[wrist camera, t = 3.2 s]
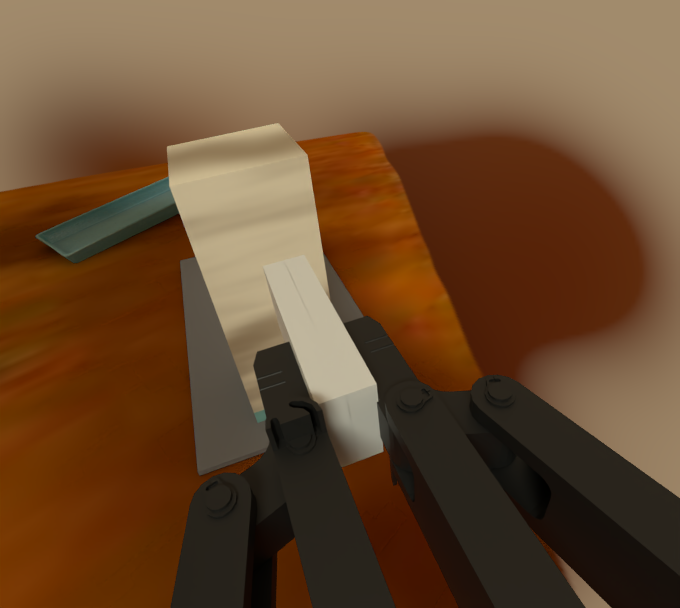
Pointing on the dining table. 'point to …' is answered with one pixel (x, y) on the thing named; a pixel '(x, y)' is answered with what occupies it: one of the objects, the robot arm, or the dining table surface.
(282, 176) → the birch block
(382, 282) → the dining table surface
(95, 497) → the dining table surface
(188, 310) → the rubber mat
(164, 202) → the shallow long dish
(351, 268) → the dining table surface
